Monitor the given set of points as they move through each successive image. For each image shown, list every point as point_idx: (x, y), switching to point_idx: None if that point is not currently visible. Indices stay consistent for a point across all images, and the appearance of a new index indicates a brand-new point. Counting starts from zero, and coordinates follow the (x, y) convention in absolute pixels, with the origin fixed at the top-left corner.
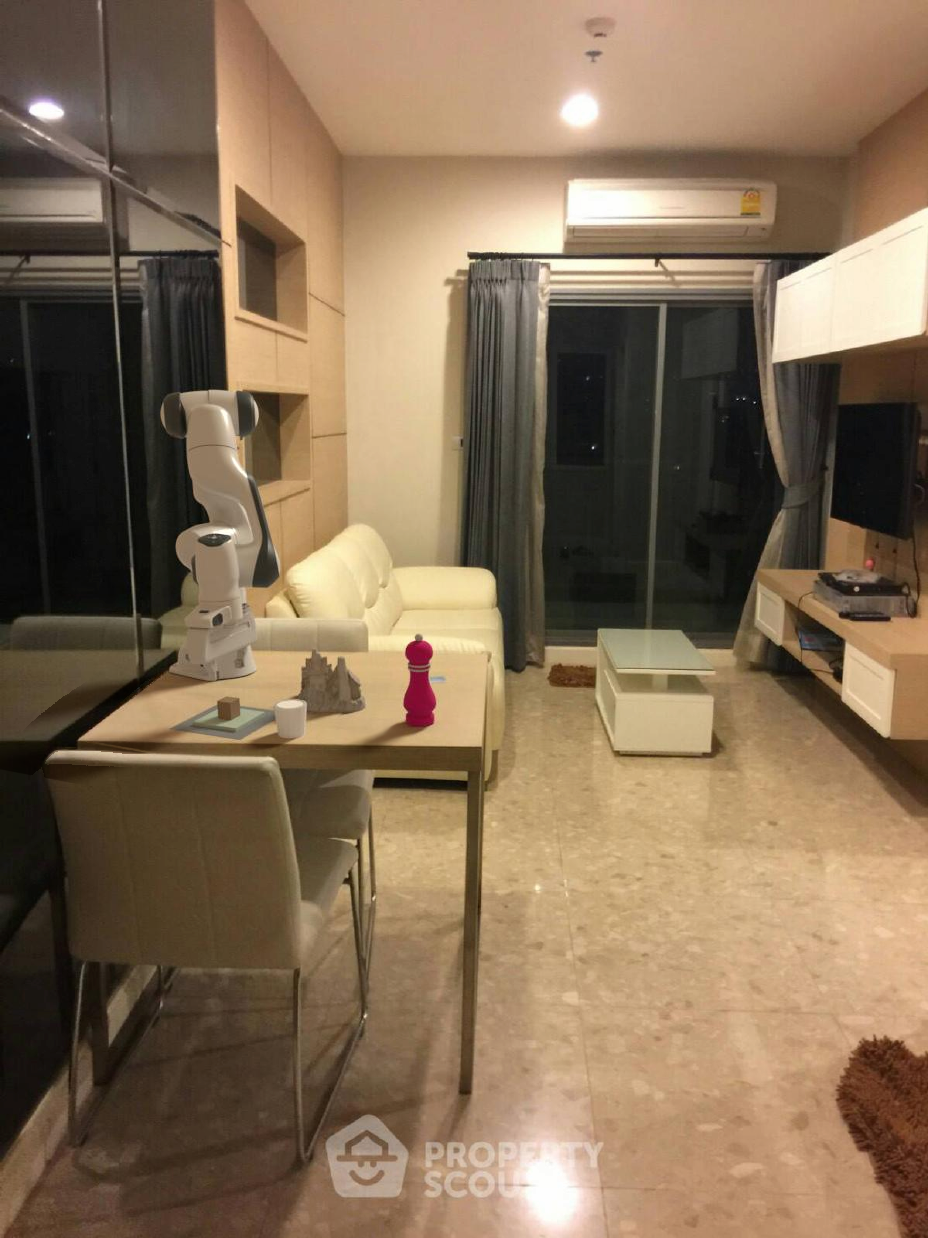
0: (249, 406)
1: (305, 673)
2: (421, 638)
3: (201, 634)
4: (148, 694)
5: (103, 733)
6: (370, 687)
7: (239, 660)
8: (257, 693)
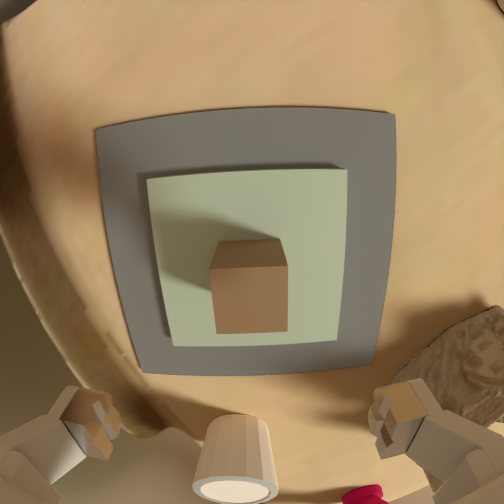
0: None
1: (491, 394)
2: None
3: None
4: None
5: (39, 10)
6: None
7: (394, 447)
8: (497, 178)
